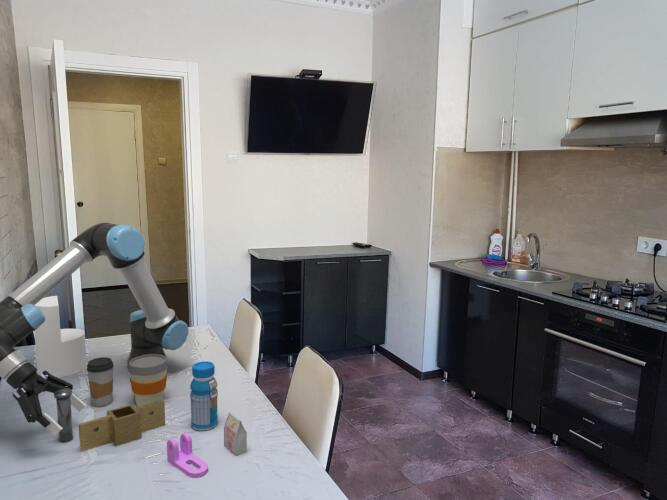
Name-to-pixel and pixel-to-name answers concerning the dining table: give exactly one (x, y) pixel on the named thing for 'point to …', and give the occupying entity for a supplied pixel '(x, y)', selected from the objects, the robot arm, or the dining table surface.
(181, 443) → the bracket
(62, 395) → the hinge pin
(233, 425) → the small gable-top carton
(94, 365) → the coffee cup
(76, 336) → the white stepped cylinder block
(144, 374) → the reusable coffee cup
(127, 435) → the tan plate
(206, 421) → the beverage bottle
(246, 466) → the dining table surface
